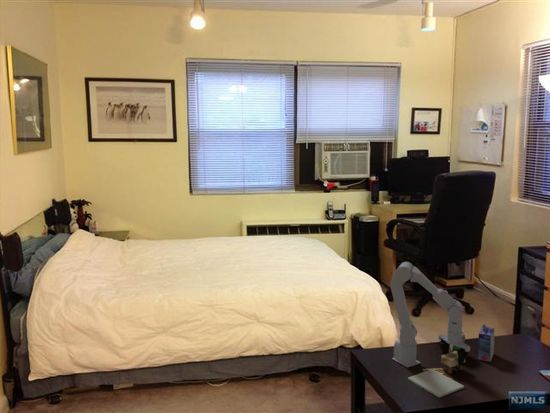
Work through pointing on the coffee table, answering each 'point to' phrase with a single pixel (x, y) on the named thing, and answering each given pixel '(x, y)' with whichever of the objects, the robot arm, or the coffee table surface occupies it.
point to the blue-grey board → (435, 383)
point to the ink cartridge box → (486, 344)
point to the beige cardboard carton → (450, 361)
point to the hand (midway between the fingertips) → (453, 361)
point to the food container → (455, 348)
